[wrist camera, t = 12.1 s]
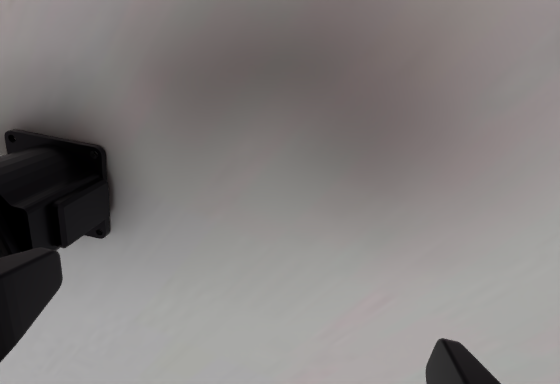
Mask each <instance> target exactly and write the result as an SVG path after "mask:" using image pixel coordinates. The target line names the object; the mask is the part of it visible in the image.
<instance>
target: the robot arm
mask: <svg viewBox="0 0 560 384" xmlns="http://www.w3.org/2000/svg"><path fill="white" fill-rule="evenodd" d="M14 137H15V139H16V140H15V139H14ZM5 142H6V148H7V155H4V156H1V157H0V362H1V361H2V360H3V359H4V358H5V357H6V355H7V354H8V353H9V352H10V351H11V350H12V349H13V347H14V346H15V345H16V344H17V343H18V342H19V340H20V339H21V338H22V337H23V335H24V334H25V333H26V331H27V330H28V329H29V328H30V326H31V325H32V324H33V322H34V321H35V320H36V318H37V317H38V316H39V314H40V313H41V312H42V310H43V309H44V308H45V307H46V305H47V304H48V303H49V301H50V300H51V299H52V297H53V296H54V295H55V293H56V292H57V291H58V290H59V288H60V286H61V284H62V279H63V277H62V268H61V260H60V254H59V253H58V252H57V251H56V250H58V249H59V248H60V247H61V248H66V247H68V246H69V245H71V244H72V243H73V242H75V241H76V240H77V239H79V238H80V237H82V236H83V235H86V236H91V237H95V238H101V239H102V238H104V237H106V236H107V235H108V234H109V231H110V230H109V216H110V212H109V193H108V182H107V174H106V155H105V151H104V150H103V148H102V147H100V146H98V145H93V144H88V143H83V142H77V141H72V140H67V139H62V138H57V137H52V136H47V135H41V134H36V133H31V132H26V131H21V130H10V131H7V132H6V133H5ZM94 151H95V152H96V153H97V155H98V157H97V156H96V155H95V154H94ZM100 230H101V231H102V232H101V231H100ZM426 383H427V384H501V383H500V382H499V381H498V380H497V379H496V378H495V377H494V376H493V375H492V374H491V373H490V372H489V371H488V370H487V369H486V368H485V367H484V366H483V365H482V364H481V363H480V362H479V361H478V360H477V359H476V358H475V357H474V356H473V355H472V354H471V353H470V352H469V351H468V350H467V349H466V348H465V347H464V346H463V345H462V344H461V343H459V342H457V341H453V340H448V339H444V338H442V339H439V340H438V341H437V343H436V345H435V347H434V349H433V351H432V354H431V356H430V358H429V360H428V363H427V366H426Z"/></svg>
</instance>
